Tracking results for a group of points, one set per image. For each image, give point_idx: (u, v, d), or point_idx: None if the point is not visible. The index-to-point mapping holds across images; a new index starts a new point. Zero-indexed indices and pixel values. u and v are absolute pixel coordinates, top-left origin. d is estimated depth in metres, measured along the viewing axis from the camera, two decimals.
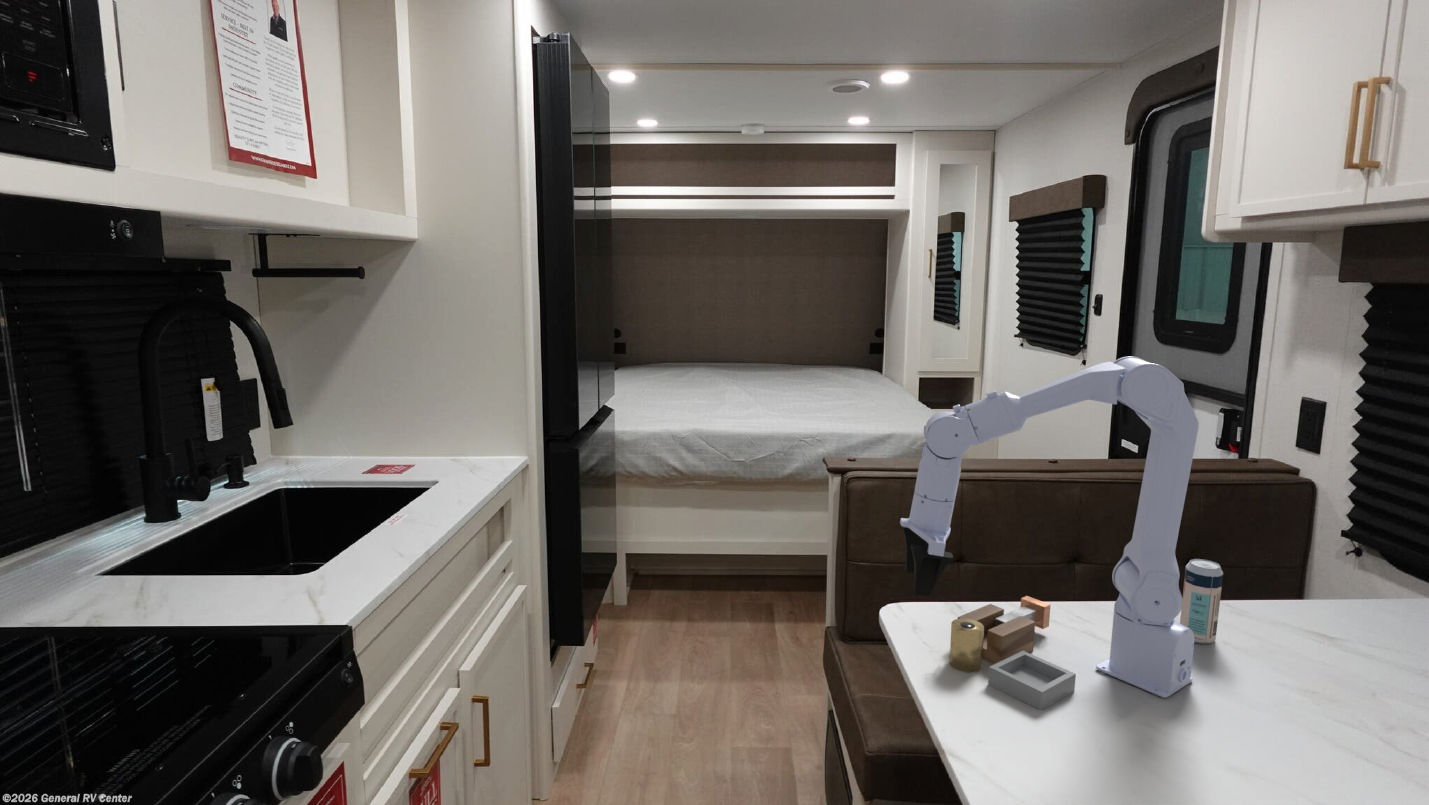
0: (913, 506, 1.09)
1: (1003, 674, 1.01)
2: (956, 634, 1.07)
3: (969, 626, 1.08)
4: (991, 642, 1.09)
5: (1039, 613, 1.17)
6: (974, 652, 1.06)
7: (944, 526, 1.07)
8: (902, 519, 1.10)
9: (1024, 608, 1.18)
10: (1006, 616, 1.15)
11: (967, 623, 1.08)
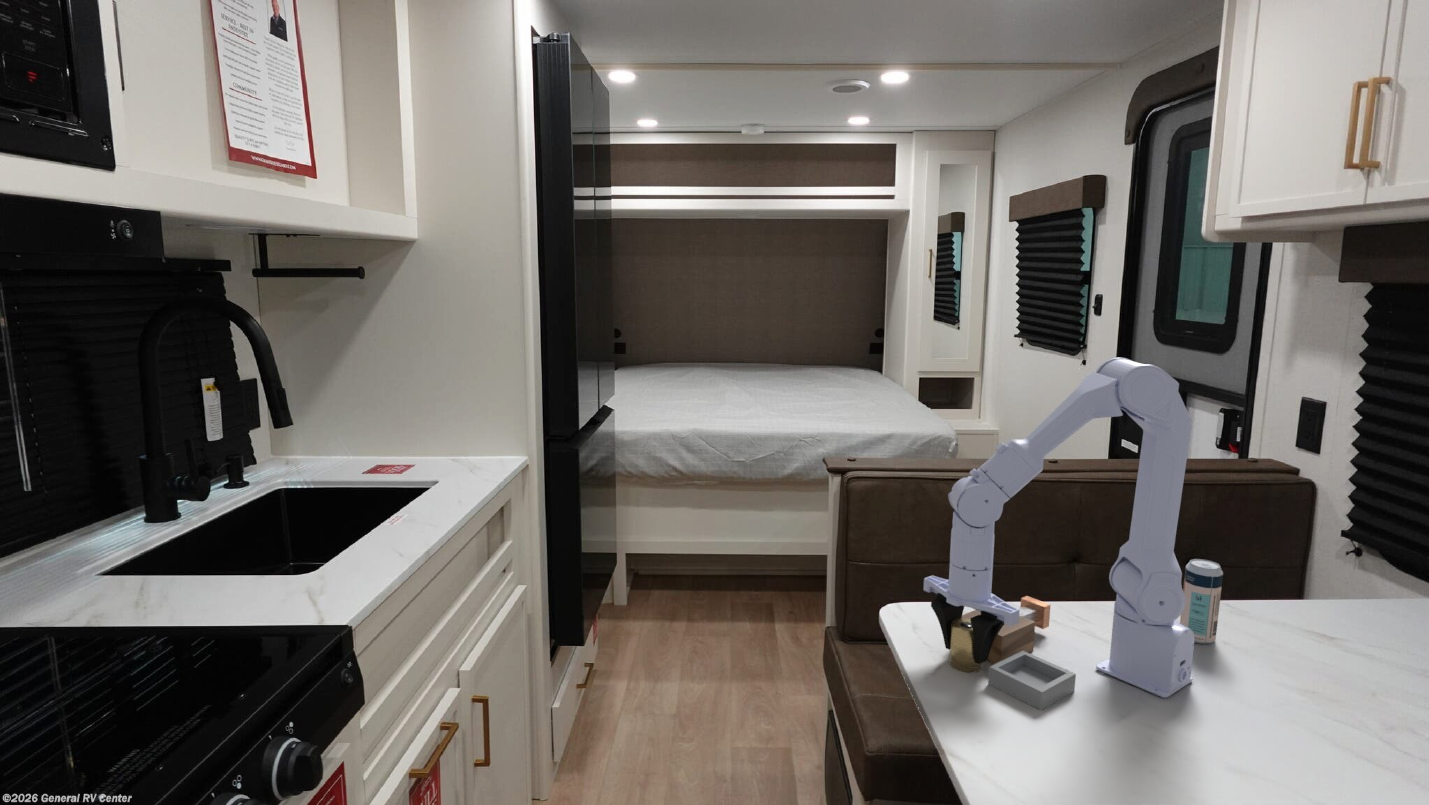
0: (961, 582, 1.05)
1: (1003, 674, 1.01)
2: (956, 634, 1.07)
3: (969, 626, 1.07)
4: None
5: (1039, 613, 1.17)
6: None
7: None
8: (950, 599, 1.05)
9: (1024, 608, 1.18)
10: None
11: (967, 623, 1.08)
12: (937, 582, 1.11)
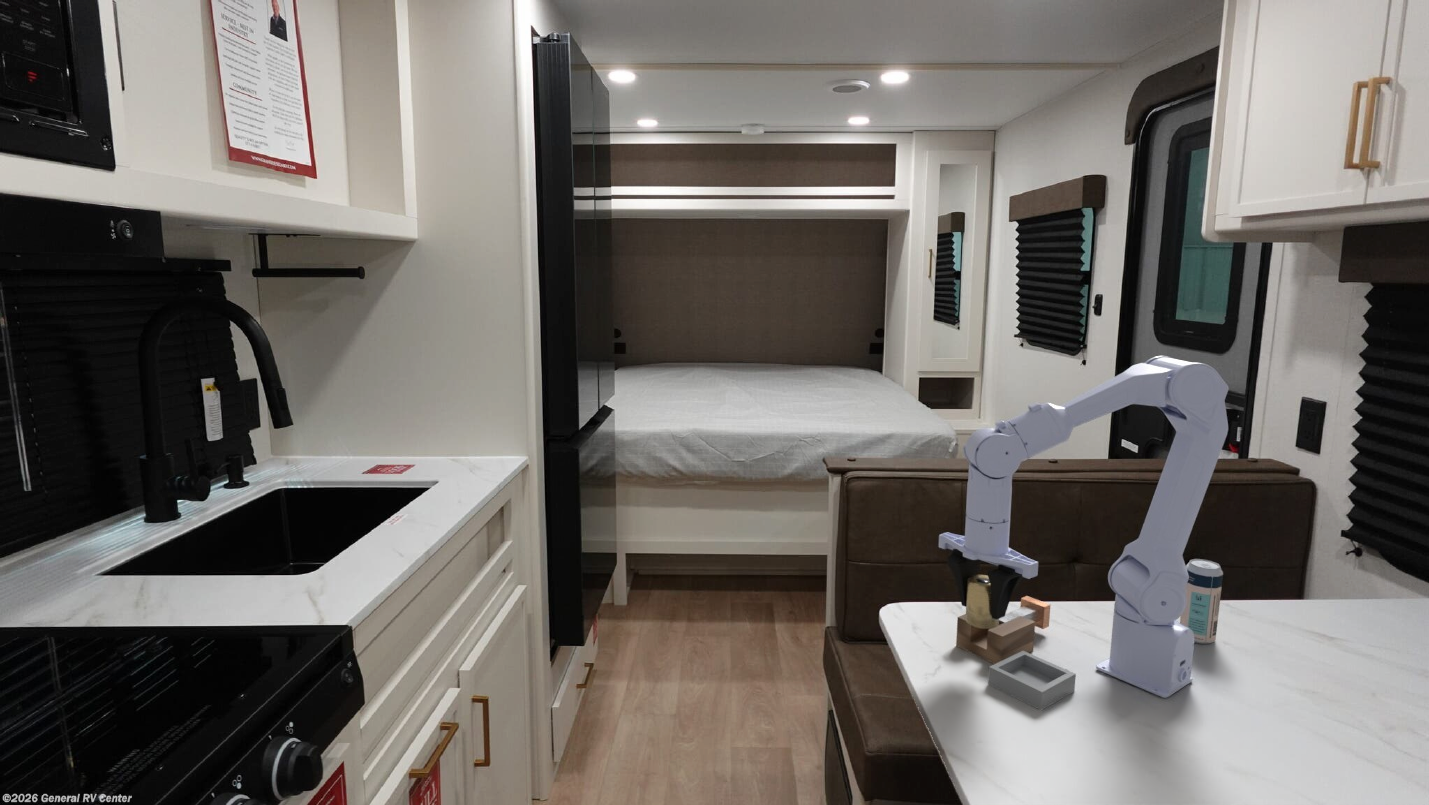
0: (978, 535, 1.02)
1: (1003, 674, 1.01)
2: (972, 589, 1.04)
3: (986, 581, 1.05)
4: (991, 642, 1.09)
5: (1039, 613, 1.17)
6: None
7: (1008, 544, 1.04)
8: (967, 552, 1.03)
9: (1024, 608, 1.18)
10: (1006, 616, 1.15)
11: (983, 579, 1.06)
12: (953, 538, 1.09)
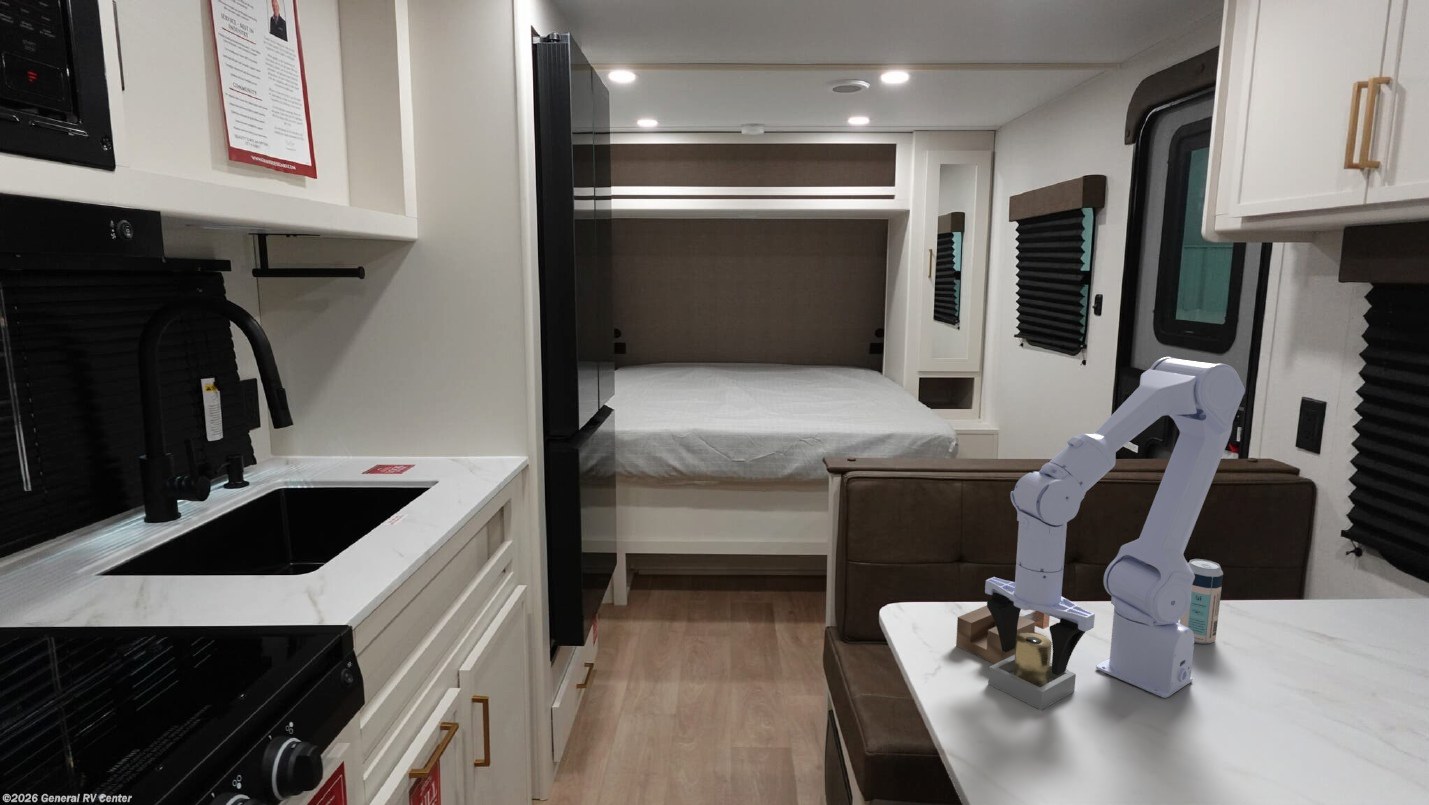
0: (1030, 584, 0.98)
1: (1003, 674, 1.01)
2: (1022, 649, 1.01)
3: (1035, 641, 1.01)
4: (991, 642, 1.09)
5: (1039, 613, 1.17)
6: (1041, 669, 1.00)
7: None
8: (1018, 602, 0.99)
9: None
10: None
11: (1033, 638, 1.02)
12: (1000, 584, 1.05)
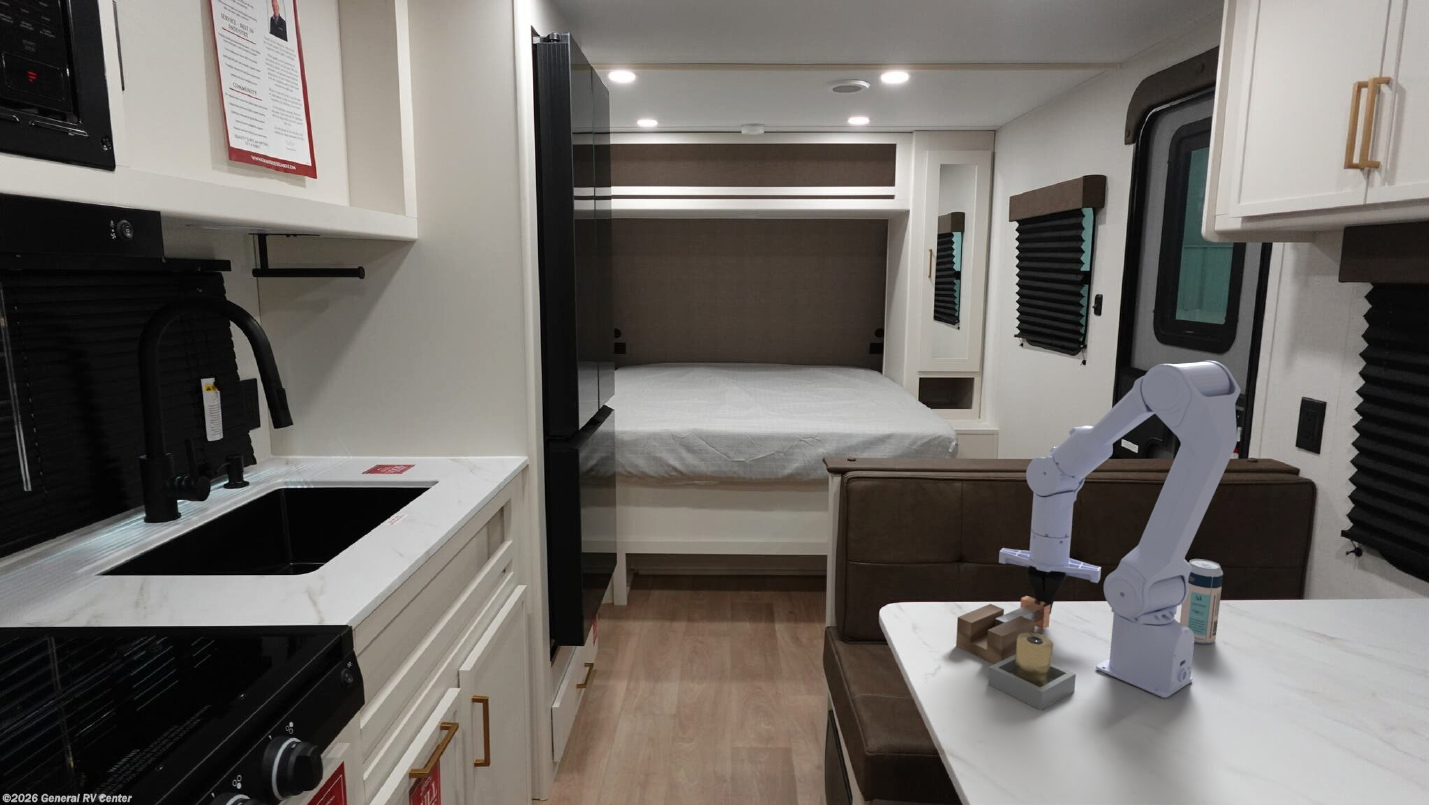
0: (1050, 550, 1.16)
1: (1003, 674, 1.01)
2: (1024, 650, 1.00)
3: (1037, 641, 1.01)
4: (991, 642, 1.09)
5: (1039, 613, 1.17)
6: (1043, 669, 1.00)
7: None
8: (1041, 566, 1.16)
9: (1024, 608, 1.18)
10: (1006, 616, 1.15)
11: (1033, 638, 1.02)
12: (1012, 553, 1.22)
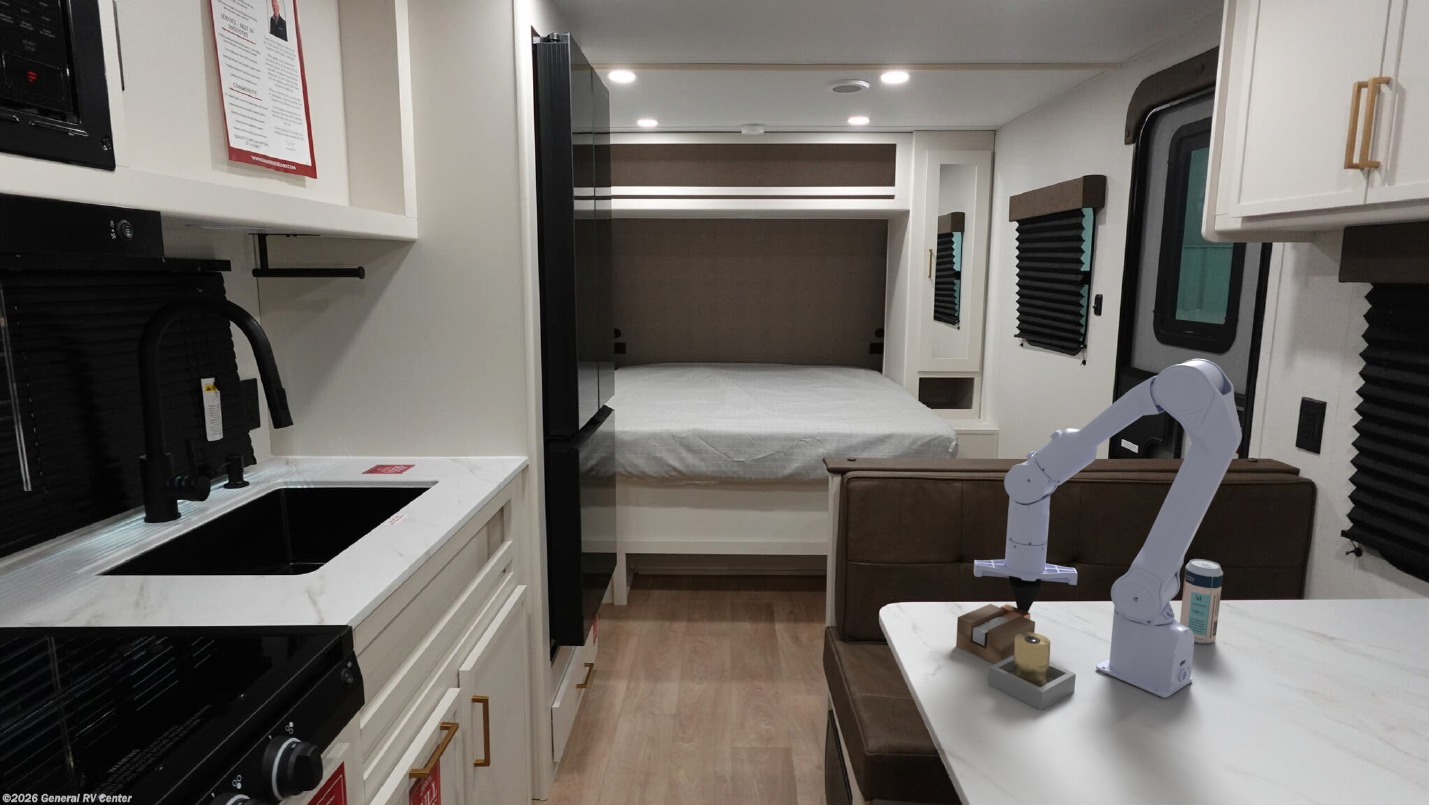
0: (1033, 558, 1.13)
1: (1003, 674, 1.01)
2: (1023, 651, 1.00)
3: (1034, 641, 1.01)
4: (991, 642, 1.09)
5: None
6: (1043, 668, 1.00)
7: None
8: (1026, 575, 1.12)
9: (1003, 617, 1.15)
10: (984, 625, 1.12)
11: (1031, 637, 1.02)
12: (987, 565, 1.17)
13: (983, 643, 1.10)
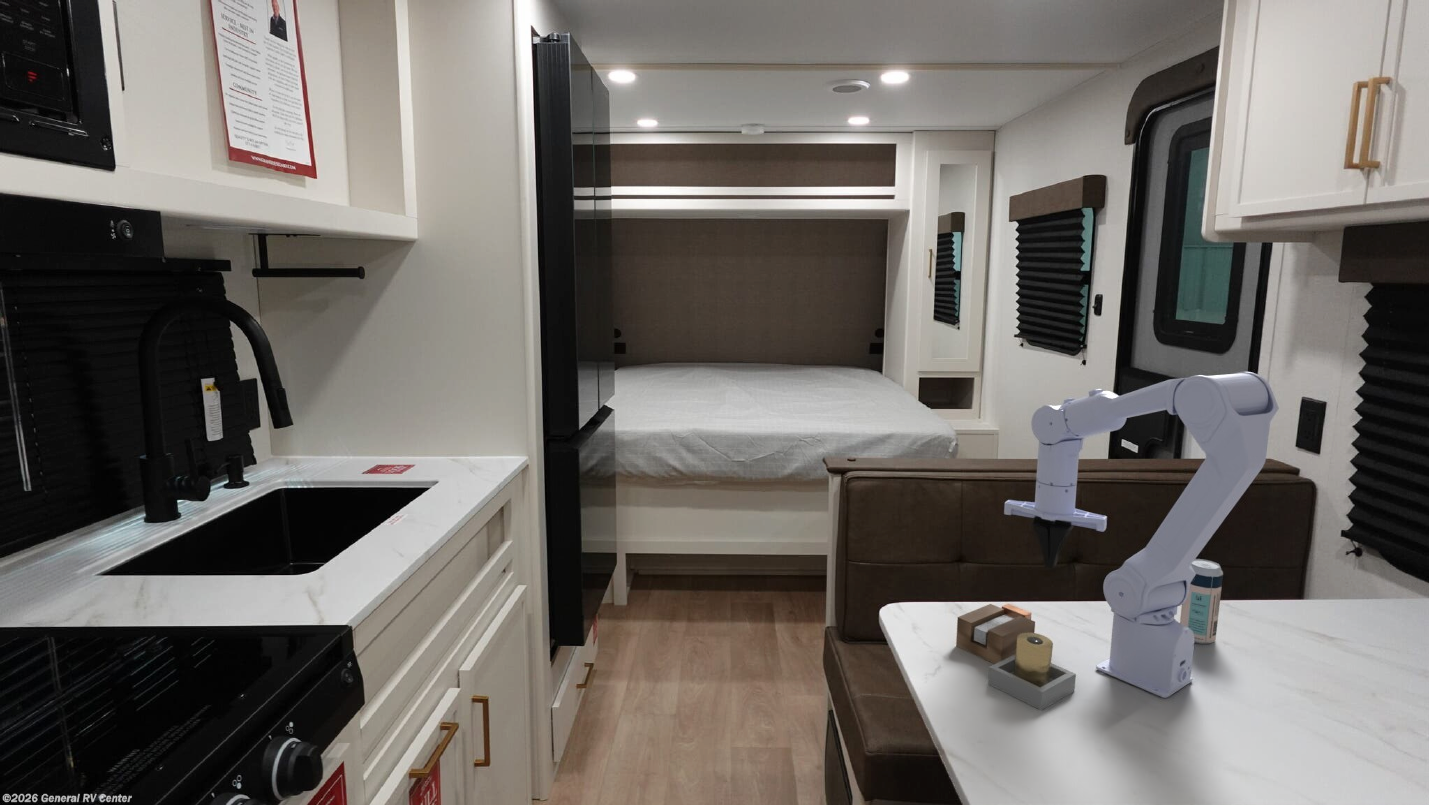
0: (1055, 498, 1.15)
1: (1003, 674, 1.01)
2: (1026, 651, 1.00)
3: (1037, 641, 1.01)
4: (991, 642, 1.09)
5: None
6: (1045, 669, 1.00)
7: None
8: (1046, 515, 1.15)
9: (1005, 616, 1.15)
10: (986, 625, 1.12)
11: (1033, 638, 1.02)
12: (1018, 504, 1.21)
13: (984, 643, 1.10)
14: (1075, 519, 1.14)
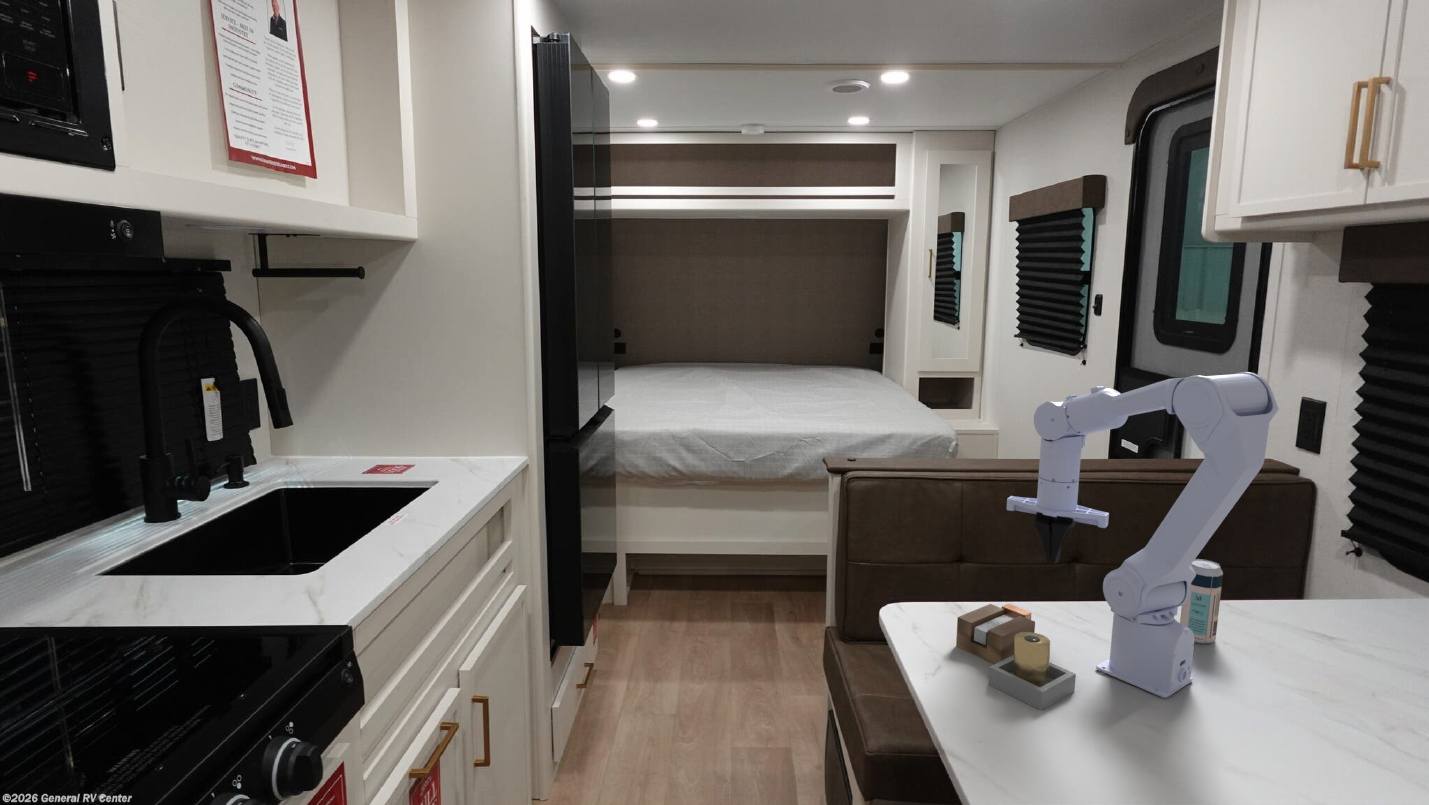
0: (1056, 494, 1.15)
1: (1003, 674, 1.01)
2: (1025, 650, 1.00)
3: (1034, 640, 1.01)
4: (991, 642, 1.09)
5: None
6: (1045, 666, 1.00)
7: None
8: (1047, 511, 1.15)
9: (1005, 616, 1.15)
10: (986, 625, 1.12)
11: (1030, 637, 1.02)
12: (1020, 500, 1.21)
13: (984, 643, 1.10)
14: (1077, 515, 1.15)
